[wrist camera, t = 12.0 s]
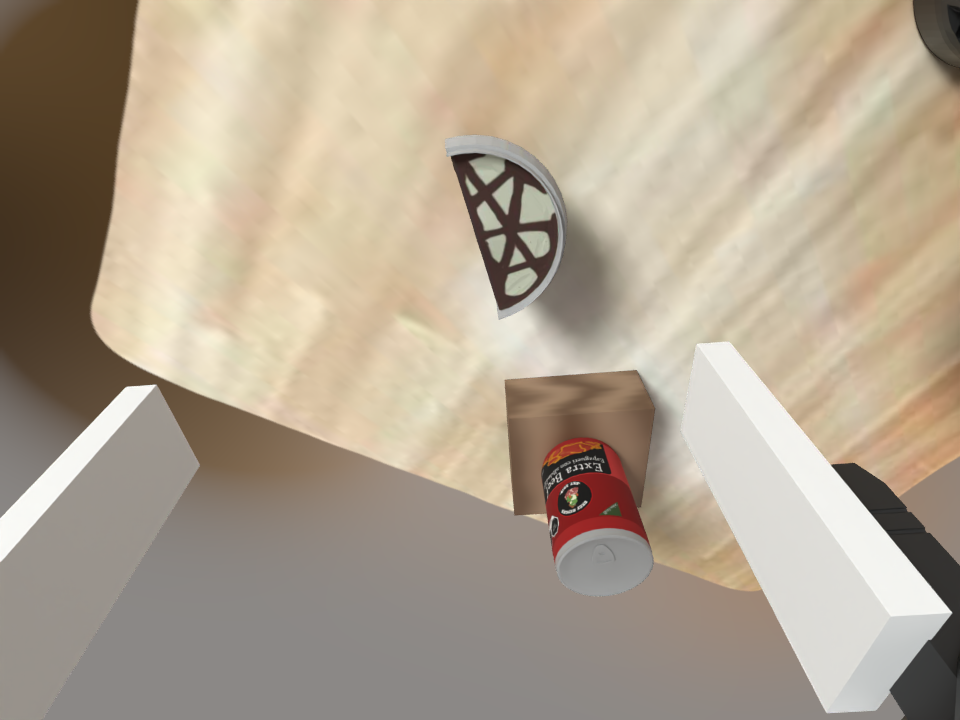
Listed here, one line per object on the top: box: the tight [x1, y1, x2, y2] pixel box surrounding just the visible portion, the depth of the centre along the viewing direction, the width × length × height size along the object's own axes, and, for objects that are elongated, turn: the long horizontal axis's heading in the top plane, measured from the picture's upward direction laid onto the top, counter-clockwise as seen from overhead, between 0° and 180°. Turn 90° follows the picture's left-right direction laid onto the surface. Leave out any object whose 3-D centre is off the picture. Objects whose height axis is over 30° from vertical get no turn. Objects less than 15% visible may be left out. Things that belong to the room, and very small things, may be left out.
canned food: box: [541, 438, 654, 596], centre depth 44 cm, size 8×8×11 cm
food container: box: [445, 135, 567, 320], centre depth 36 cm, size 12×6×10 cm, turn 17°
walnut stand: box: [505, 370, 655, 515], centre depth 51 cm, size 13×13×6 cm
